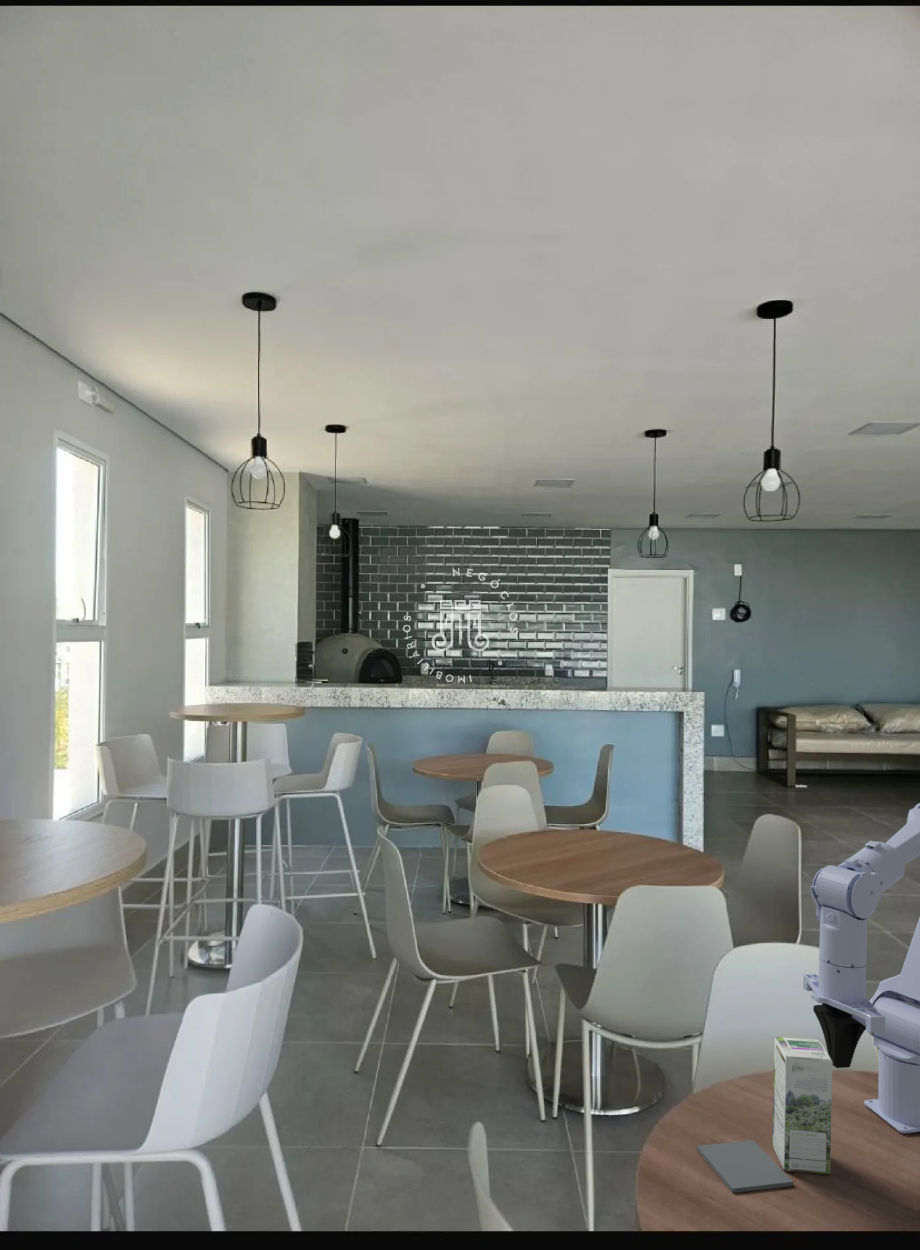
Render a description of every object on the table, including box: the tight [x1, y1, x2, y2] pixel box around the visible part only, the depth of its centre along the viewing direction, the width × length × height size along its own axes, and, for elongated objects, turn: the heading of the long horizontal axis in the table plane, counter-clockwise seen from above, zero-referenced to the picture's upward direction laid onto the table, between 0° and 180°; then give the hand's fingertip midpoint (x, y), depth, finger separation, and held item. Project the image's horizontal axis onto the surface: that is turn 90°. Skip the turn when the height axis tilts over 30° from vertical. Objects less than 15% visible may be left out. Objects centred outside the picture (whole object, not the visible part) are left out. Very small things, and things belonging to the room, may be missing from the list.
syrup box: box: [771, 1036, 833, 1175], centre depth 111 cm, size 6×6×14 cm
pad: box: [696, 1139, 794, 1194], centre depth 109 cm, size 8×9×1 cm
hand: (840, 1065), depth 114 cm, fingers closed
